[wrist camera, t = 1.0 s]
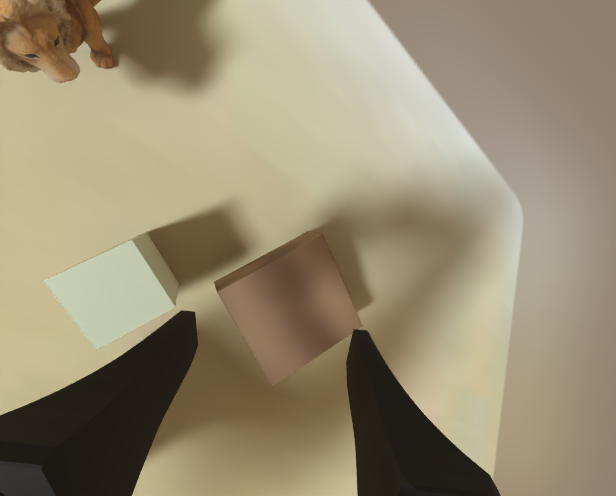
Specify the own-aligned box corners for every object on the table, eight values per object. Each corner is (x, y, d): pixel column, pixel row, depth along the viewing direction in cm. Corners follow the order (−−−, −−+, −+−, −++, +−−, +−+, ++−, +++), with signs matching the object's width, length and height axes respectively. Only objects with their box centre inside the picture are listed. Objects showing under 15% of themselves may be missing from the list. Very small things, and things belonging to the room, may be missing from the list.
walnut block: (262, 365, 27) (272, 387, 23) (213, 280, 24) (217, 291, 21) (343, 312, 29) (362, 325, 26) (306, 231, 27) (322, 234, 23)
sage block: (120, 314, 22) (96, 350, 16) (82, 261, 21) (43, 281, 15) (178, 283, 23) (175, 307, 17) (146, 231, 22) (131, 239, 16)
